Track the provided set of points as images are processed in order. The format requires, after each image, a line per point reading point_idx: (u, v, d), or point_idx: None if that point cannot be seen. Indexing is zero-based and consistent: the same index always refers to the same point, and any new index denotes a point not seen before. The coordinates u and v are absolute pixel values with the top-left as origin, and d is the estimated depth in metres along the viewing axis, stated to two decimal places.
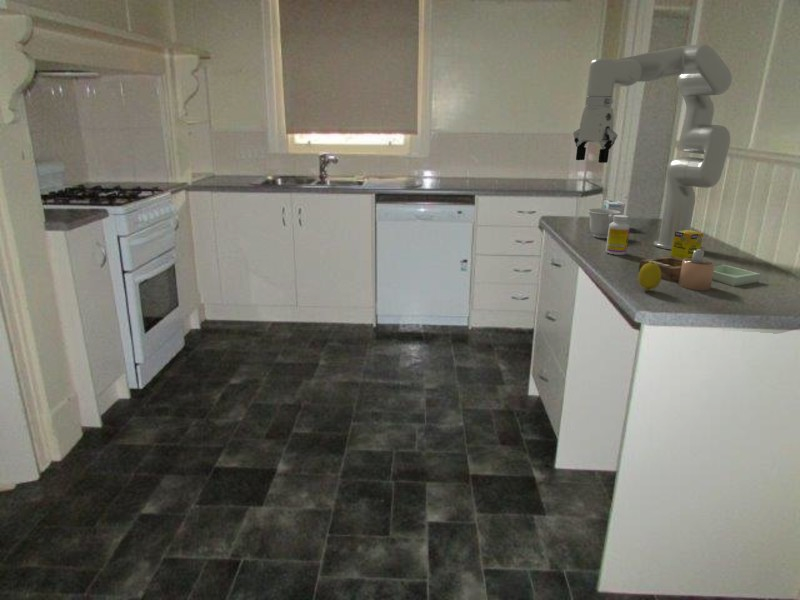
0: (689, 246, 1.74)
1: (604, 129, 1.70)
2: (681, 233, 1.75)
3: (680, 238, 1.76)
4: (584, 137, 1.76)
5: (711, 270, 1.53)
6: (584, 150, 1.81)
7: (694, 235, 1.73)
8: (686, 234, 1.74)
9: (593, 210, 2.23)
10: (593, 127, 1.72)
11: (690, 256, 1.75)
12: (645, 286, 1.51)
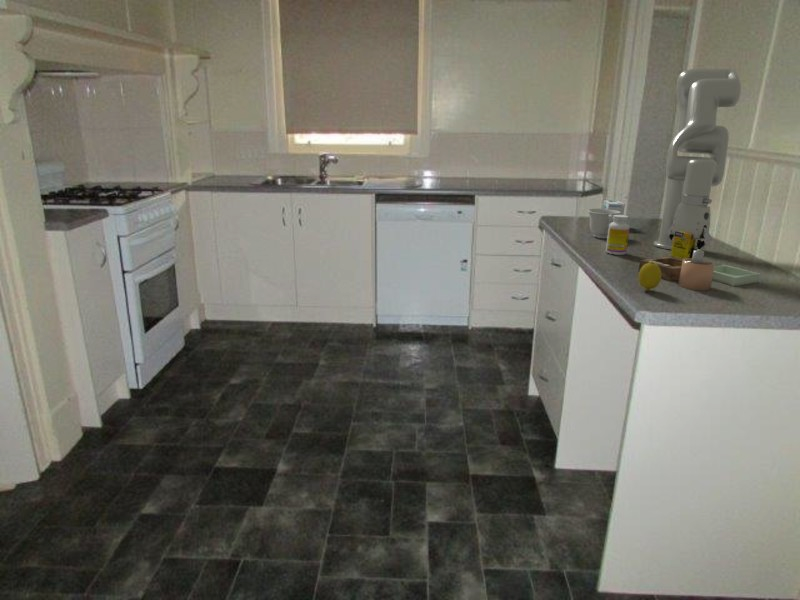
0: (689, 246, 1.74)
1: (702, 228, 1.71)
2: (681, 233, 1.75)
3: (680, 238, 1.76)
4: None
5: (711, 270, 1.53)
6: None
7: None
8: (686, 234, 1.74)
9: (593, 210, 2.23)
10: (690, 225, 1.73)
11: None
12: (645, 286, 1.51)
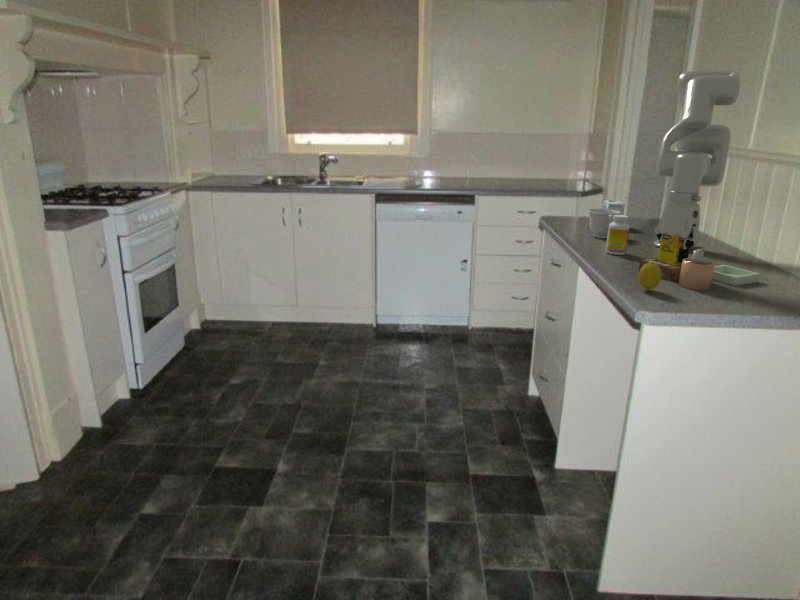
0: (677, 249, 1.64)
1: (691, 227, 1.61)
2: (669, 235, 1.66)
3: (668, 241, 1.66)
4: (666, 232, 1.67)
5: (711, 270, 1.53)
6: None
7: None
8: (674, 237, 1.64)
9: (593, 210, 2.23)
10: (678, 223, 1.63)
11: None
12: (645, 286, 1.51)
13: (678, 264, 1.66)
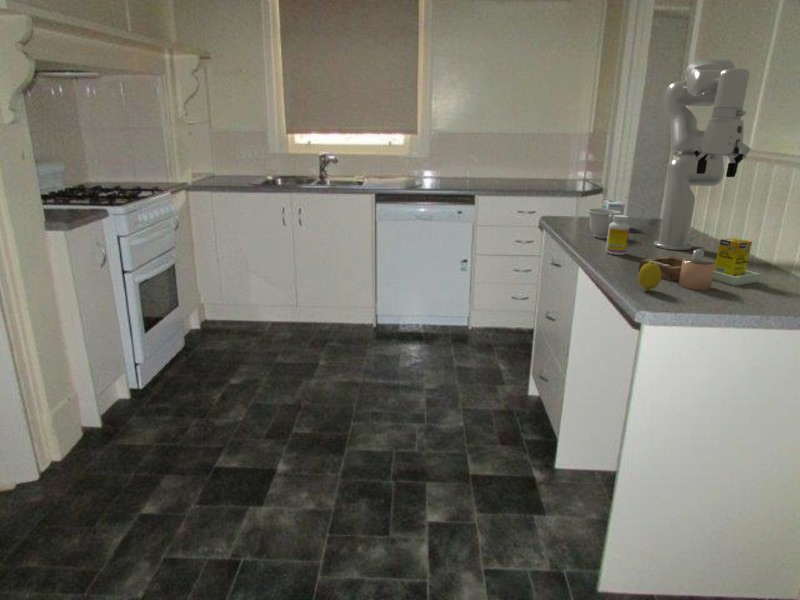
0: (737, 256, 1.60)
1: (734, 142, 1.62)
2: (728, 241, 1.61)
3: (727, 247, 1.62)
4: (709, 150, 1.68)
5: (711, 270, 1.53)
6: (705, 163, 1.73)
7: (742, 244, 1.59)
8: (733, 243, 1.60)
9: (593, 210, 2.23)
10: (721, 140, 1.64)
11: (737, 266, 1.61)
12: (645, 286, 1.51)
13: (737, 271, 1.62)
